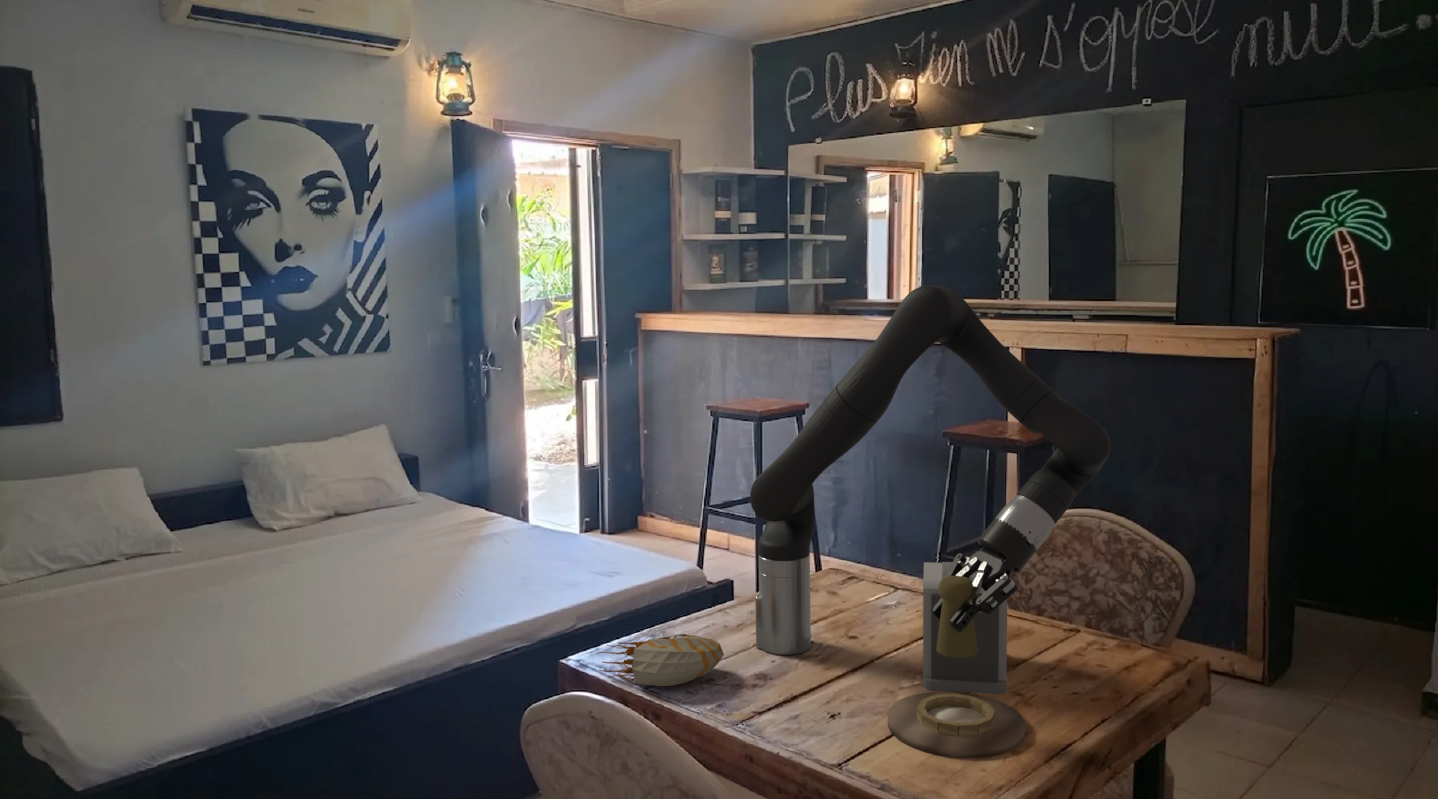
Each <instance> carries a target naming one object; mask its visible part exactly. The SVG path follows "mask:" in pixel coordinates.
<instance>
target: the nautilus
mask: <svg viewBox="0 0 1438 799" xmlns="http://www.w3.org/2000/svg"><path fill="white" fill-rule="evenodd" d="M620 644H621V645H620ZM624 644H625V645H624ZM626 645H630V646H626ZM632 645H635V646H632ZM606 647H611V648H617V647H618V649H626V650H625V651H620V652H614V651H613V652H611V651H602V652H601V651H600V652H598V654H612V655H613V654H614V655H625V658H627V657H628V656H629V657H632V658H628V659H623V662H622V661H611V662H610V661H601V663H603V664H610V665H611V664H616V665H624V666H625V668H626V669H620V670H618V669H617V670H603V669H598V671H600V672H605V673H617V674H615V675H611V676H609V678H612V677H620V678H623V679H625V680H624V681H621V682H620V684H622V683H626V682H631V681H633V682H635V683H636V684H637V685H647V686H653V687H654V686H656V687H670V686H676V685H681V684H686V683H688V682H691V681H693V680H695V679H697V678H700V677H703V676H705V675H706V674H708V673H709V672H711V671H712V670H713V669H715V667H717V666H718V664H719V663H720V661H721V660H722V658H723V657H724V655H725V654H724V651H723V648H722V645H721V643H720V642H718V641H716V640H715V639H712V638H709V637H703V636H700V635H697V634H696V635H695V634H686V633H681V634H674V635H670V636H662V637H654V638H650V639H648V640H644V641H635V642H632V641H631V642H625V641H624V642H621V641H618V642H617V645H616V644H615V645H611V644H610V645H608V644H606ZM627 665H629V667H628V666H627ZM630 666H631V667H630ZM621 674H622V675H621ZM625 676H629V677H633V678H629V677H625Z"/></svg>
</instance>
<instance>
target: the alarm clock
mask: <svg viewBox="0 0 1438 799" xmlns="http://www.w3.org/2000/svg"><path fill="white" fill-rule="evenodd" d="M952 563H953V561H941V562H927V561H925V562H923V578H922V579H923V583H922V584H923V586H922V589H923V590H922V592H923V593H922V601H923V603H922V662H923V663H922V680H923V681H922V687H923V688H924V689H925V690H928V691H954V692H965V693H972V694H990V695H1003V694H1006V693H1007V690H1008V688H1007V687H1008V686H1007V685H1008V682H1007V674H1008V673H1007V670H1008V669H1007V668H1008V666H1007V664H1008V661H1007V659H1008V658H1007V656H1008V655H1007V654H1008V598H1007V599H1006V600H1005V601H1004V602H1003V603H1002V604H1000V605H999V606H998V607H997V608H996V609H995V610H994V611H992V612H991V613H990V614H986V613H985V612H981V613H979V614H978V613H977V614H976V615H975V616H974V617H973V619H974V626H975V633H976V640H977V648H978V653H977V654H976V655H974V656H970V657H963V658H957V657H948V656H945V655H942V654H940V653H938V652H937V650H936V647H937V640H938V632H939V624H940V620H939V619H938V618H936V617H935V616H934V615H933V614H932V609H933V608H934V606H935V605H936V604H937V602H939V600H940V599H941V597H940V594H939V583H940V581H941V580H942V579H943V578H944V577H945V575H946V573H947V572H948V570H949V568H950V566H951V564H952ZM978 598H979V596H978V597H977V599H978ZM994 599H995V598H994V597H993V598H992V600H991V601H988V602H987V603H988V604H990V603H991V602H992V601H993V600H994Z"/></svg>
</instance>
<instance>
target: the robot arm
mask: <svg viewBox="0 0 1438 799" xmlns="http://www.w3.org/2000/svg"><path fill="white" fill-rule="evenodd" d="M937 343H939V344H940V345H942V346H943V347H944V348H947V349H948V350H950V351H951V352H952V353H954V354H955V355H957V356H958V357H960V358H961V359H962V360H963V361H964V362H965V363H966V364H967V365H968V366H969V367H970V368H971V369H972V370H973V371H974V372H975V373H976V374H977V377H979V379H980V380H981V382H982V383H983V384H984V386H985V387H986V388H987V390H988V391H989V392H990V394H991V395H992V396H993V397H994V399H995V401H997V402H998V403H999V404H1000V405H1001V406H1002V407H1003V409H1004V410H1006V411H1007V412H1008V413H1009V414H1010V415H1011V416H1012V417H1013V418H1014V419H1016V421H1018V422H1019V423H1020V425H1021V426H1023V427H1024V428H1025V429H1026V430H1028V431H1029V432H1031V433H1033V434H1036V435H1042V436H1043V437H1044V438H1045V439H1047V441H1049V442H1050V443H1052V444H1053V445H1054V446H1055V447H1056V449H1055V450H1054V452H1053V453H1052V455H1051V456H1050V457H1049V458H1048V460H1047V461H1046V462H1045V463H1044V464H1043V466H1042V467H1041V469H1040V470H1037V471H1036V472H1034V473H1033V475H1031V476H1030V477H1029V479H1028V480H1027V481H1026V482H1025V484H1023V486H1022V487H1021V489H1020V490H1019V491H1018V492H1017V493H1016V494H1015V496H1013V498H1012V499H1011V500H1010V501H1009V502H1007V503H1006V504H1005V505H1004V507H1003V508H1002V509H1001V510H1000V511H999V513H998V514H997V515H996V517H995V518H994V519H993V520H992V521H991V523H990V524H989V525H988V526H987V528H986V529H985V530H984V531H983V533H982V534H981V535H980V536H979V538H978V540H977V544H978V545H979V547H978V550H977V551H975V552H974V553H973V554H971V555H970V556H964V555H963V554H962V552H961V553H960V552H959V553H957V554H956V556H955V558H954V559H953V561H952V562H953V563H952V564H951V566H950V568H949V570H948V572H947V573H946V575H945V577H948V576H963V577H967V578H969V579H970V580H972V582H973V583H972V589H973V592H972V594H971V596H970V597H969V598H968V599H967V601H966V603H967V604H965V603H964V604H963V605H962V606H961V607H960V609H959V610H958V611H957V612H956V613H955V615H954V616H953V617H952V618H951V620H950V622H949V623H950V625H951V626H952V627H953V628H954V629H955V630H957V631H958V632H961V631H962V630H963V629H964V628H965V627H966V626H967V625H968V624H969V622H970V621H971V620H972V619H973V617H974V616H975V615H976V614H977V613H978V614H979V613H981V612H985V613H986V614H990V613H991V612H992V611H994V610H995V609H996V608H997V607H998V606H999V605H1000V604H1002V603H1003V602H1004V601H1005V600H1006V599H1007V600H1008V598H1010V596H1012V595H1013V594H1014V593H1015V592H1016V591H1017V590H1018V589H1019V586H1018V585H1017V584H1016V583H1015V581H1014V580H1012V578H1011V575H1012V573H1020V572H1022V570H1023V569H1024V567H1025V566H1026V565H1027V564H1028V562H1029V561H1030V559H1032V557H1033V556H1034V555H1035V553H1036V552H1037V551H1038V549H1040V547H1041V546H1042V545H1043V543H1044V542H1045V541H1046V539H1047V538H1048V537H1049V536H1050V534H1051V532H1052V530H1053V528H1054V527H1055V525H1056V524H1057V523H1058V521H1060V519H1061V518H1062V517H1063V516H1064V514H1065V513H1066V511H1067V510H1069V508H1070V506H1071V505H1072V503H1073V501H1074V499H1075V498H1076V496H1078V495H1079V494H1080V493H1081V492H1082V491H1083V490H1084V489H1085V487H1087V485H1089V483H1090V482H1091V481H1092V480H1093V478H1095V476H1096V475H1097V474H1098V473H1099V472H1100V470H1101V469H1102V468H1103V467H1104V464H1105V463H1106V461H1107V459H1108V458H1109V455H1110V453H1111V448H1112V443H1111V439H1110V436H1109V434H1108V432H1107V431H1106V430H1105V428H1104V427H1103V426H1102V425H1101V424H1100V423H1099V422H1098V421H1096V420H1095V419H1094V418H1093V417H1091V416H1090V415H1088V414H1087V413H1086V412H1084V411H1082V410H1081V409H1079V408H1078V407H1076V406H1074V405H1073V404H1072V403H1069V402H1068V401H1066V400H1064V399H1063V398H1061V396H1060V395H1059V394H1058V393H1057V392H1055V391H1054V389H1053V388H1051V387H1050V386H1049V385H1048V384H1047V383H1046V382H1045V381H1044V380H1042V378H1040V377H1039V376H1038V375H1037V374H1036V373H1034V371H1032V369H1030V368H1028V366H1027V365H1026V364H1025V363H1023V362H1022V361H1021V360H1020V359H1019V358H1018V357H1016V356H1015V355H1014V354H1013V352H1011V351H1010V350H1008V348H1007V347H1005V345H1003V343H1001V342H1000V341H999V339H998V338H996V336H995V335H994V334H993V332H991V331H990V330H989V328H988V327H987V326H986V325H985V324H984V323H983V322H982V320H981V318H979V316H978V315H977V314H976V313H975V312H974V310H973V309H972V307H971V306H970V305H969V304H968V302H967V301H966V300H965V298H964V297H963V296H962V295H961V294H960V293H959V292H958V291H957V290H955V289H953V288H950V287H947V286H943V285H942V286H941V285H934V284H926V285H921V286H918V287H917V288H914V289H913V290H911V291H910V292H909V293H908V294H906V296H905V297H904V298H903V300H902V301H901V302H900V303H899V305H898V307H897V309H895V311H894V313H893V314H892V315H891V317H890V319H889V320H888V322H887V324H885V326H884V328H883V329H882V331H881V332H880V333H879V335H878V336H877V338H876V339H875V341H873V343H872V344H871V346H870V347H869V348H868V349H867V350H866V351H865V352H864V353H863V354H862V356H861V357H859V359H858V360H857V361H856V362H855V363H854V365H853V366H852V367H851V368H850V370H848V371H847V373H846V374H845V375H844V376H843V377H842V378H841V379H840V380H839V382H838V383H837V384H836V385H835V386H834V387H833V388H832V389H831V391H830V392H829V393H828V395H826V397H825V398H824V400H823V401H822V402H821V404H820V405H819V406H818V408H817V409H816V410H815V411H814V412H813V414H812V415H811V416H810V418H809V419H808V421H807V422H806V423H805V424H804V425H803V428H802V429H801V430H800V431H799V432H798V434H797V435H796V437H795V439H794V440H793V441H792V442H791V443H790V444H789V446H788V447H787V448H786V449H785V450H784V451H782V453H781V454H780V455H779V456H777V458H776V459H774V461H773V462H772V463H771V464H769V466H768V467H766V468H765V469H764V470H763V471H762V472H761V473H760V474H759V475H758V476H757V477H756V478H755V480H754V481H753V483H752V485H751V488H750V493H749V502H750V505H751V508H752V510H753V512H754V514H755V515H756V516H757V517H758V518H760V519H762V520H764V521H766V522H765V526H764V529H763V532H762V533H761V535H760V537H759V540H758V544H757V545H758V548H757V550H758V583H759V585H758V589H759V590H758V591H759V593H758V595H756V596H755V601H754V602H755V604H754V605H755V644H756V646H755V647H756V649H761V650H763V651H765V652H767V653H770V654H773V655H774V654H775V655H787V656H789V655H798V654H802V653H804V652H806V651H808V650H810V648H811V647H812V643H811V642H812V639H811V638H812V628H811V626H812V624H811V618H812V617H811V611H812V610H811V555H810V551H811V550H810V548H811V543H812V539H813V535H814V526H815V525H814V522H815V520H814V519H815V490H814V482H815V481H817V479H818V478H819V476H821V474H823V472H825V470H827V469H828V468H830V466H831V465H833V464H834V463H835V462H836V461H837V460H839V459H840V458H842V457H843V456H844V455H846V453H848V452H849V451H850V450H851V449H852V448H853V447H855V446H856V445H857V444H858V443H859V442H860V441H861V440H862V439H863V438H864V437H865V436H866V435H868V433H869V432H870V431H871V430H872V429H873V427H874V426H875V425H876V423H877V422H878V421H879V420H880V419H881V418H882V417H883V415H884V414H885V412H886V411H887V410H888V409H889V406H890V405H891V403H892V400H893V398H894V397H895V395H896V392H897V390H898V388H899V385H900V383H901V381H902V379H903V377H904V375H905V374H906V372H908V370H909V369H910V367H911V366H913V364H914V363H915V362H916V361H917V360H918V359H919V358H920V357H921V356H922V355H923V354H924V353H925V352H926V351H927V350H928V349H930V347H932V346H933V345H934V344H937ZM945 577H944V578H945ZM978 596H979V598H978V599H977V597H978ZM993 597H994V598H995V599H994V600H993V601H992V602H991V603H990V604H988V603H987V602H988V601H991V600H992V598H993ZM942 601H943V599H942V598H941V599H940V600H939V602H937V604H936V605H935V606H934V608H933V609H932V614H933V615H934V616H935V617H936V618H938V619H939V620H940V616H941V608H942Z"/></svg>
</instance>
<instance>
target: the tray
mask: <svg viewBox="0 0 1438 799" xmlns="http://www.w3.org/2000/svg"><path fill="white" fill-rule="evenodd" d="M887 727H888V729H889V731H890V733H891V734H892V735H893V737H895V738H896V739H897V740H898V741H900V742H901V743H903V744H905V745H907V746H909V747H911V748H913V749H915V750H918V751H922V752H925V753H928V754H930V755H931V754H932V755H937V756H941V757H948V758H949V757H950V758H959V759H962V758H965V759H974V758H975V759H976V758H985V757H986V758H987V757H992V756H998V755H1002V754H1004V753H1005V754H1006V753H1007V752H1010V751H1012V750H1014V749H1016V748H1017V747H1019V745H1021V744H1022V743H1023V741H1024V739H1025V737H1026V730H1027V728H1026V727H1027V726H1026V721H1025V719H1024V717H1023V715H1022V714H1021V713H1020V712H1019V711H1018V710H1017V709H1016V708H1014V707H1012V706H1011V705H1008V704H1007V703H1005V702H1003V701H1000V700H999V699H996V698H992V697H990V696H985V695H981V694H978V693H972V692H954V691H937V690H935V691H927V692H921V693H916V694H912V695H908V696H905V697H903V698H900V699H899V700H897V701H896V702H895V703H893V704H892V705H891V706H890V708H889V709H888V712H887Z"/></svg>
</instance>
